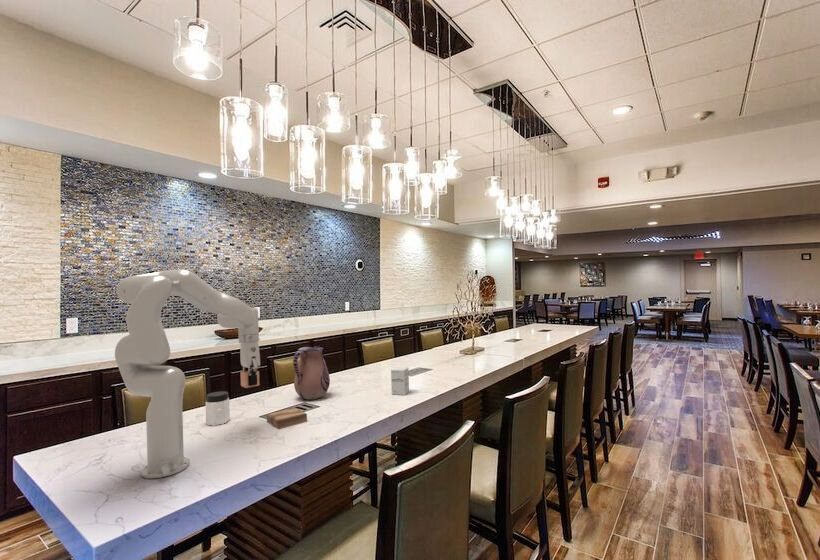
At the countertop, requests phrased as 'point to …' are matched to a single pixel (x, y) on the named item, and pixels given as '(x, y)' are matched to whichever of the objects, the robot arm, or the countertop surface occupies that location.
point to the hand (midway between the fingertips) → (250, 383)
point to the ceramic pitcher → (310, 373)
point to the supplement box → (400, 381)
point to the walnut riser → (286, 418)
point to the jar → (217, 408)
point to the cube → (245, 379)
